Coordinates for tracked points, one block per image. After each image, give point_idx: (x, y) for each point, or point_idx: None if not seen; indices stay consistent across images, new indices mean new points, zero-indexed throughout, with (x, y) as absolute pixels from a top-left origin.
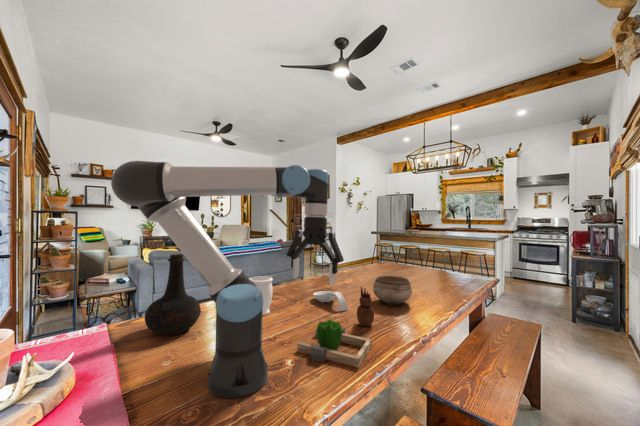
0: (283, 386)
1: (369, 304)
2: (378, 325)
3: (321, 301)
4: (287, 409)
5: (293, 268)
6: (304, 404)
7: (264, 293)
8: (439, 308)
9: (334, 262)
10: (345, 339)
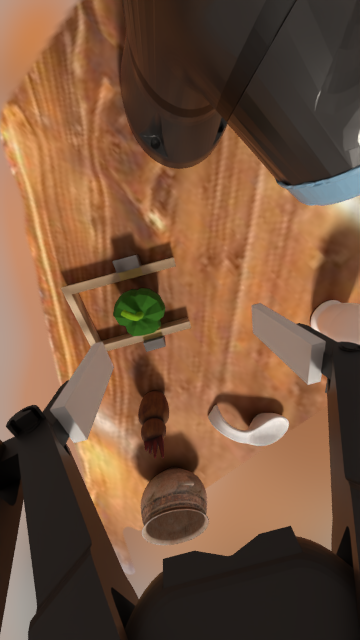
0: (105, 151)
1: (142, 426)
2: (138, 406)
3: (262, 413)
4: (48, 102)
5: (283, 319)
6: (42, 136)
7: (351, 327)
8: (110, 497)
9: (10, 420)
10: None
